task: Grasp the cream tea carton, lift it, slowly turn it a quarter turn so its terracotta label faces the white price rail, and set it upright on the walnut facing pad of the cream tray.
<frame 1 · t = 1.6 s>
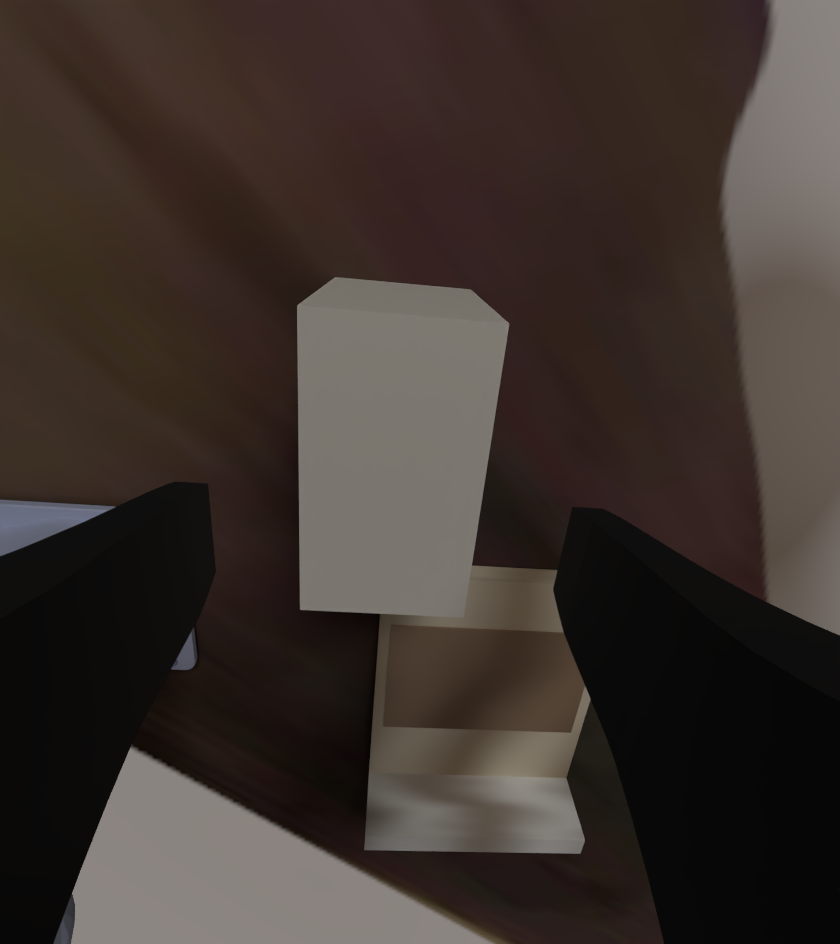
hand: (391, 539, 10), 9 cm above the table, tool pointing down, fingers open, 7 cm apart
tea carton: (395, 399, 19), on the table
cream tray: (480, 680, 25), on the table
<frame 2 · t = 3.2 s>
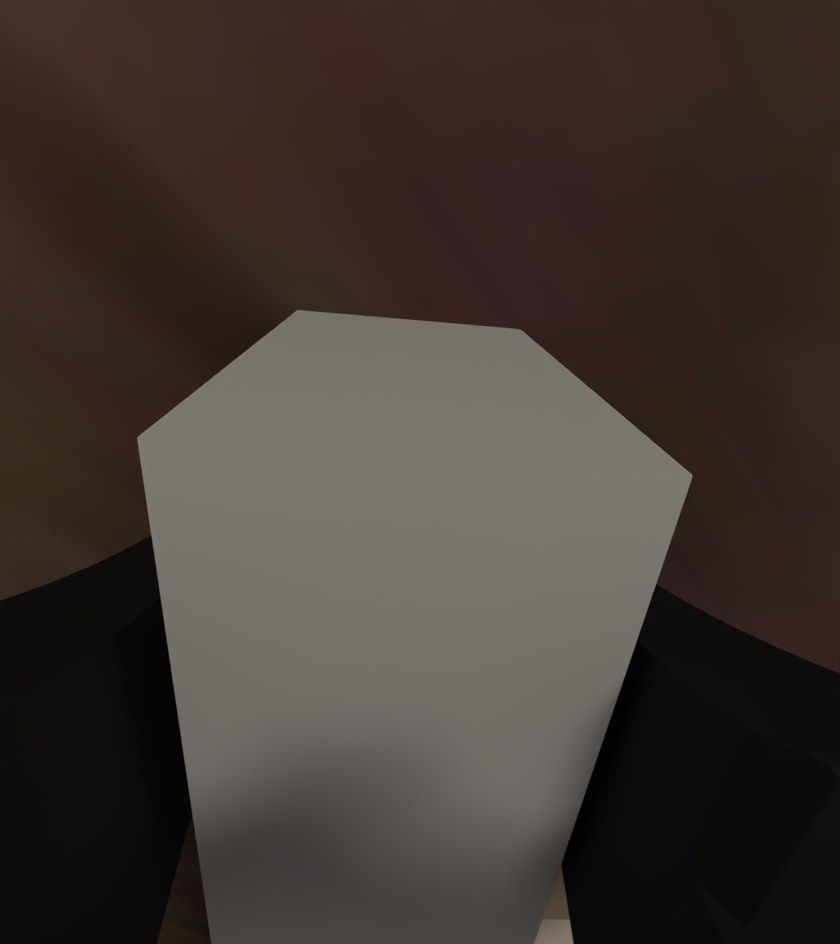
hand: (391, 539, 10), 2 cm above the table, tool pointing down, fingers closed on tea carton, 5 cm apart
tea carton: (396, 495, 12), on the table, touching gripper
cream tray: (510, 849, 18), on the table
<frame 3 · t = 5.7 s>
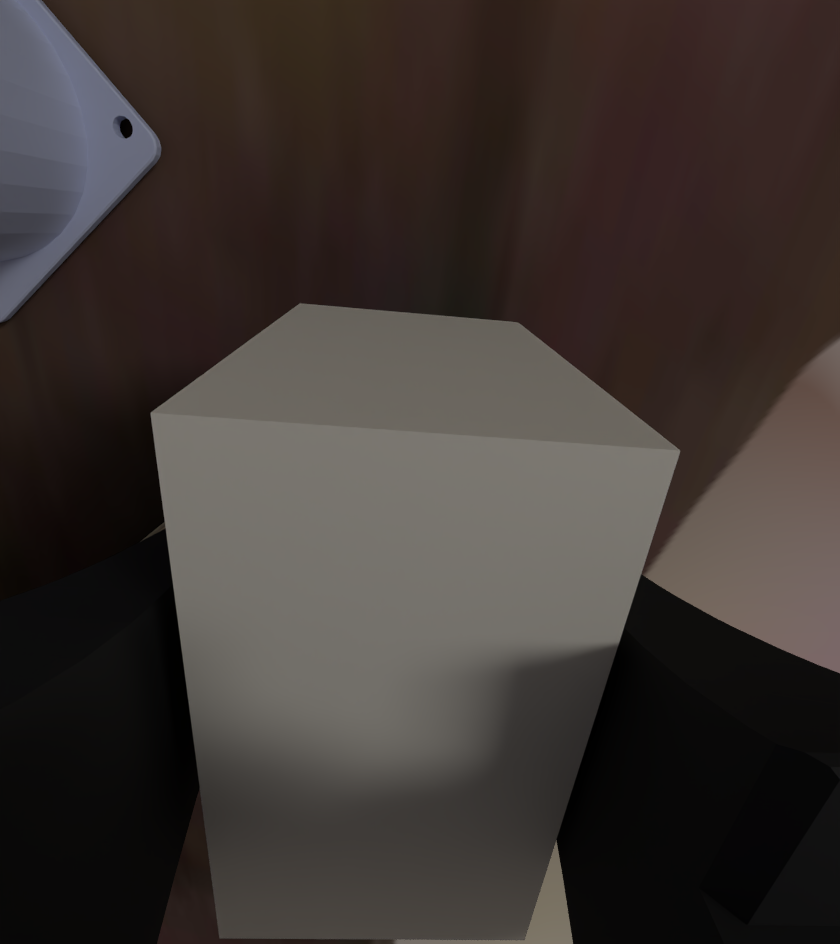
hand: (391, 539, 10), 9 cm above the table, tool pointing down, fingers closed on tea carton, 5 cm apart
tea carton: (396, 486, 12), point 7 cm above the table, touching gripper
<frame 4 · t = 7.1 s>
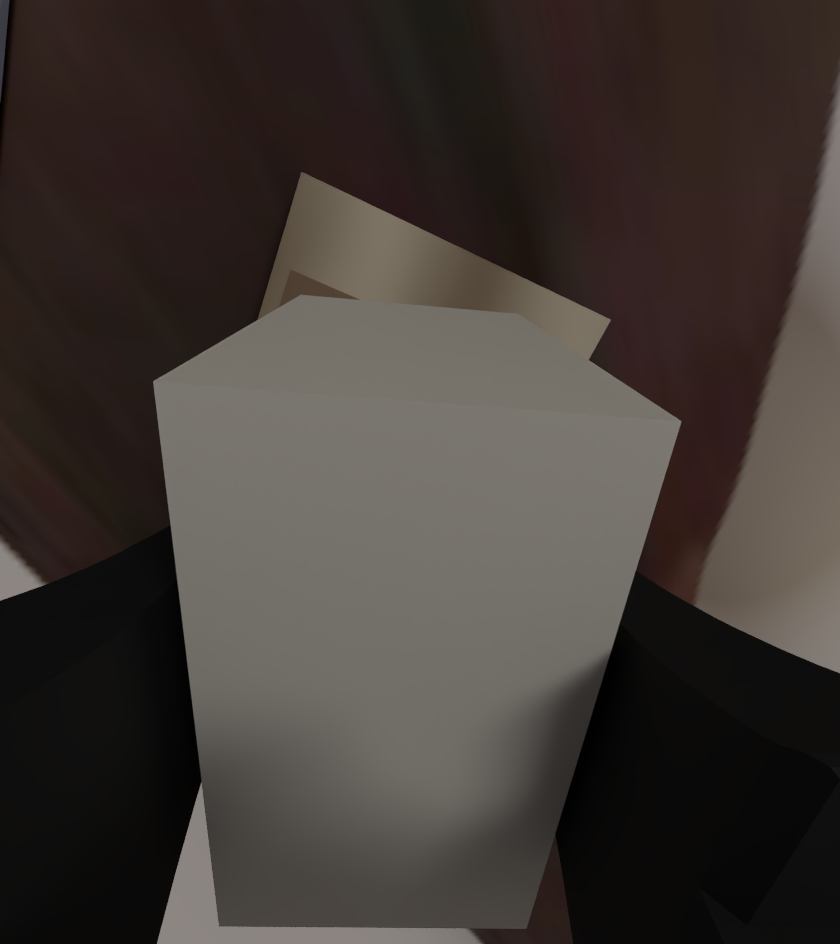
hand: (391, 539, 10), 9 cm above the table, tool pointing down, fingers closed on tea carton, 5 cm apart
tea carton: (397, 479, 12), point 6 cm above the table, touching gripper
cream tray: (384, 431, 19), on the table
when the fingers open (4 cm above the table, at t = 8.4 s): tea carton stays where it is, resting on cream tray.
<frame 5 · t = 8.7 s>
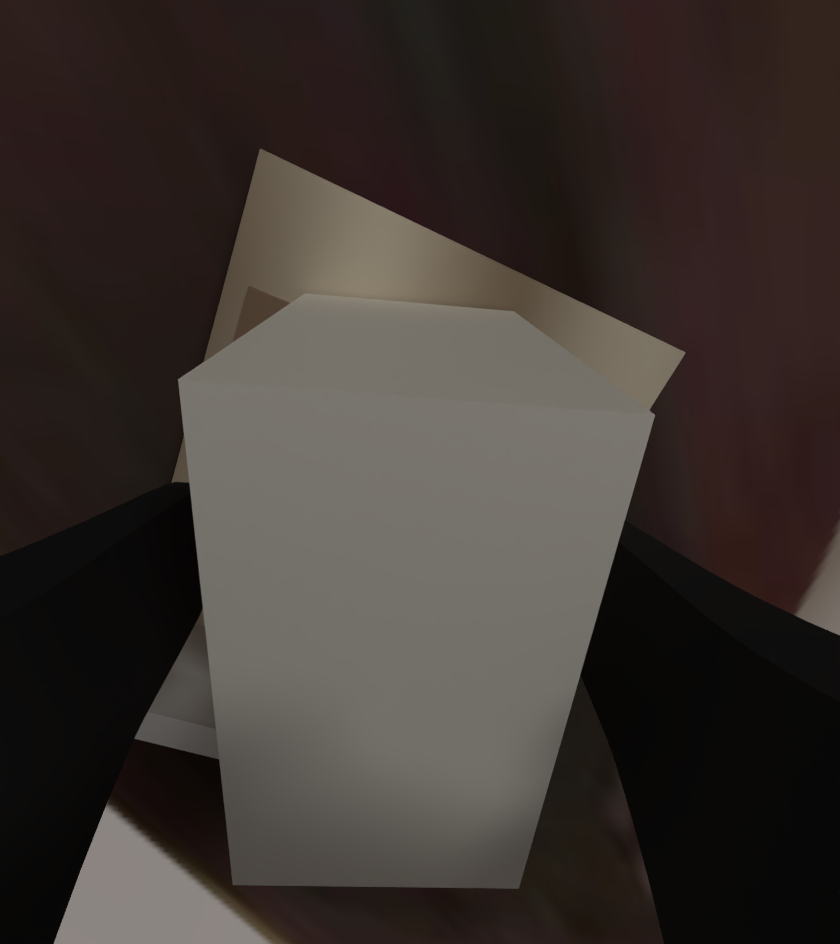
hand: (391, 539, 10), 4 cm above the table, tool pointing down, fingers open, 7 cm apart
tea carton: (398, 470, 13), point 1 cm above the table, touching cream tray
cream tray: (379, 491, 14), on the table
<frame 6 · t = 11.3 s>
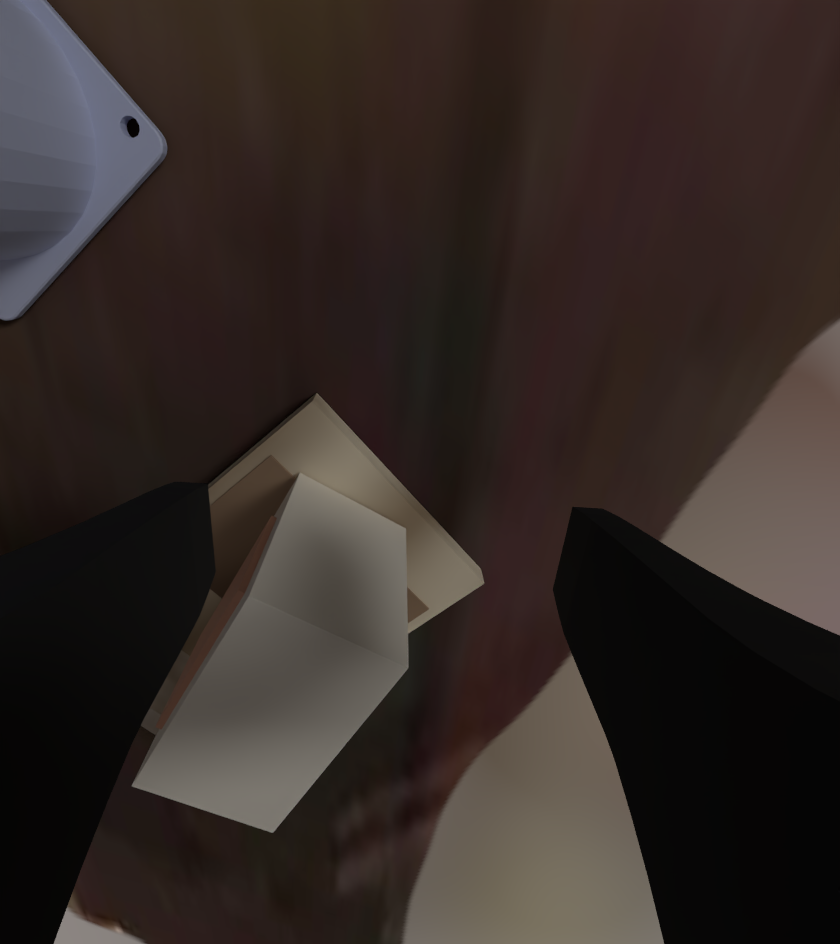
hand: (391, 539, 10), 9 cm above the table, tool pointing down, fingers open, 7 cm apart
tea carton: (304, 577, 21), point 1 cm above the table, touching cream tray
cream tray: (287, 576, 22), on the table
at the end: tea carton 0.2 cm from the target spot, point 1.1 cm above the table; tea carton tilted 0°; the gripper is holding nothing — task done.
